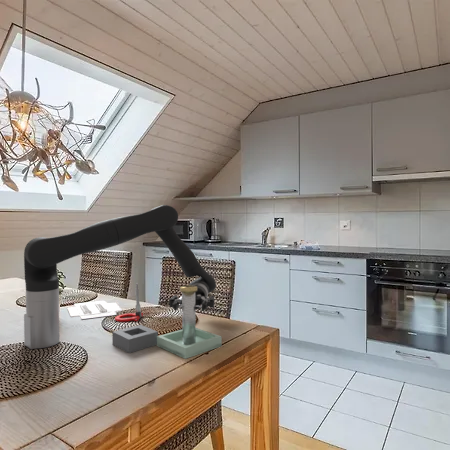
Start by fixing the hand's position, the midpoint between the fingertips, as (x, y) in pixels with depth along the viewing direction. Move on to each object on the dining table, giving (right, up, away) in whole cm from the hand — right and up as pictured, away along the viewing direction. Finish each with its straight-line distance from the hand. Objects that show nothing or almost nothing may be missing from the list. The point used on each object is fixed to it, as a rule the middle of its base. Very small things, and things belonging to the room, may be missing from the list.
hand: (189, 307), depth 110 cm
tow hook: (-27, -12, +30) cm, 42 cm away
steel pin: (0, -11, +1) cm, 11 cm away
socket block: (-17, -12, +2) cm, 21 cm away
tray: (0, -12, 0) cm, 12 cm away
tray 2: (-45, -12, +44) cm, 64 cm away
